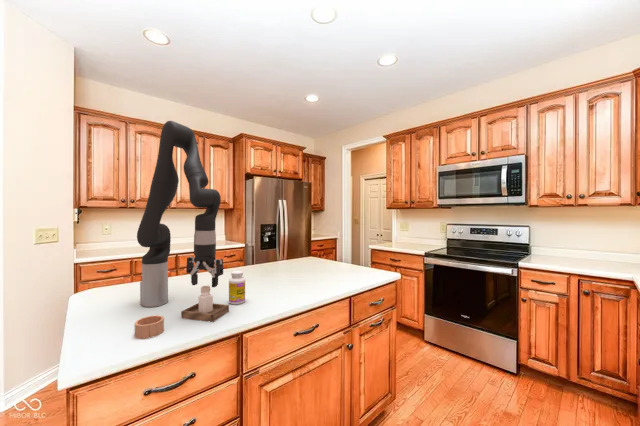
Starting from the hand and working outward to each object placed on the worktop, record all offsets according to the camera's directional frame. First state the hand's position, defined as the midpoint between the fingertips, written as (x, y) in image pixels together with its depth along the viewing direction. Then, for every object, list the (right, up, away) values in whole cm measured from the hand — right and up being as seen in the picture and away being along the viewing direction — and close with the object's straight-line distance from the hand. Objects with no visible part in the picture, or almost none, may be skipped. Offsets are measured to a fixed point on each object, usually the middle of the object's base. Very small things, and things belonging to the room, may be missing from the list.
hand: (204, 285), depth 100 cm
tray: (0, -11, 0) cm, 11 cm away
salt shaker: (0, -10, +1) cm, 10 cm away
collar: (-12, -11, -14) cm, 21 cm away
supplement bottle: (+8, -11, +14) cm, 20 cm away
